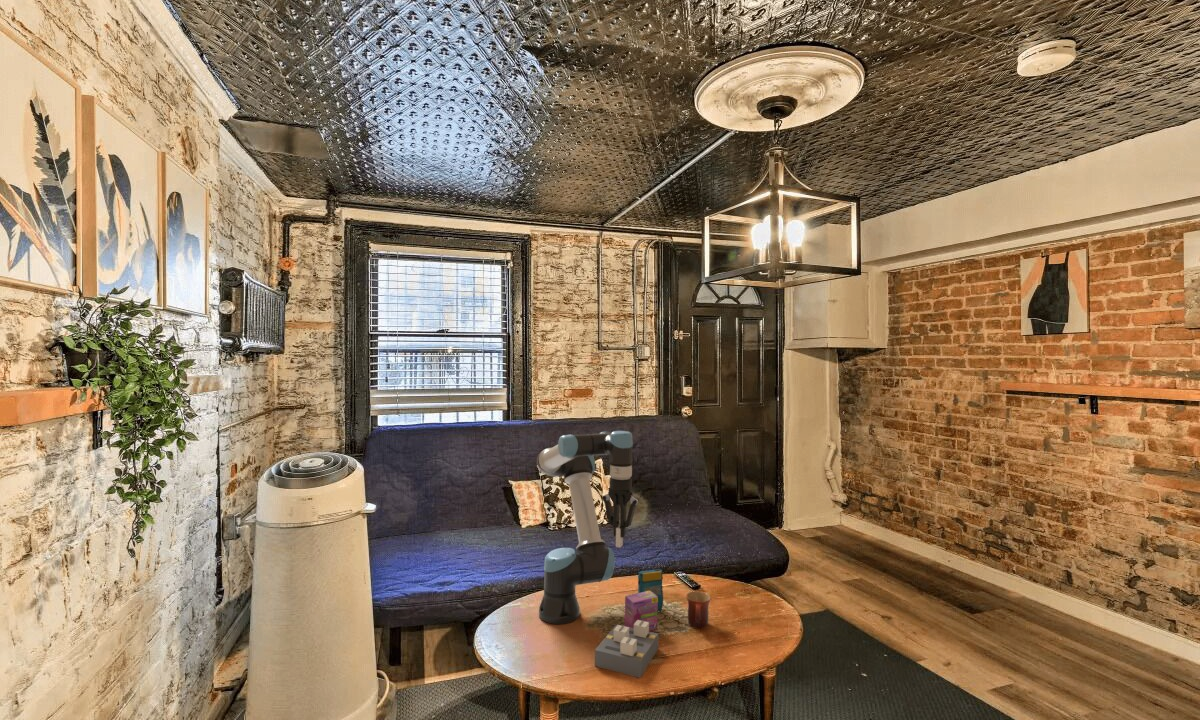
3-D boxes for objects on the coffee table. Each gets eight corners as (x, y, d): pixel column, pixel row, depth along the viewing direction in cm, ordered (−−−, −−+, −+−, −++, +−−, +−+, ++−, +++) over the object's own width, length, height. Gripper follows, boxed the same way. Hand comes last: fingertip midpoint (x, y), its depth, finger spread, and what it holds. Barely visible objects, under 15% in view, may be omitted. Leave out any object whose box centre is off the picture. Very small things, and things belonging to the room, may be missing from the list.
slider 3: (633, 635, 180) (633, 623, 180) (637, 630, 183) (637, 618, 183) (645, 637, 178) (645, 626, 178) (648, 632, 182) (648, 621, 182)
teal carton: (660, 607, 211) (660, 568, 211) (664, 612, 207) (665, 572, 207) (636, 610, 208) (637, 571, 208) (640, 615, 204) (641, 575, 204)
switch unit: (594, 665, 171) (594, 649, 171) (616, 638, 188) (616, 623, 187) (640, 677, 165) (640, 660, 165) (658, 648, 182) (658, 633, 181)
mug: (686, 617, 203) (686, 590, 203) (710, 620, 202) (710, 592, 201) (684, 633, 192) (685, 604, 191) (710, 636, 190) (710, 607, 190)
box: (632, 636, 190) (633, 602, 189) (624, 628, 195) (624, 595, 194) (657, 629, 194) (658, 596, 194) (649, 622, 199) (649, 589, 199)
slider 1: (613, 640, 176) (613, 628, 176) (617, 635, 180) (617, 623, 179) (625, 643, 175) (625, 631, 175) (629, 638, 178) (629, 626, 178)
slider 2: (620, 653, 169) (620, 641, 169) (624, 647, 172) (624, 635, 172) (632, 656, 167) (632, 644, 167) (636, 650, 171) (636, 638, 171)
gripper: (598, 477, 186) (597, 546, 186) (634, 481, 181) (633, 552, 181) (607, 472, 193) (606, 539, 193) (642, 477, 187) (641, 545, 188)
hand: (619, 545), depth 187 cm, fingers closed
